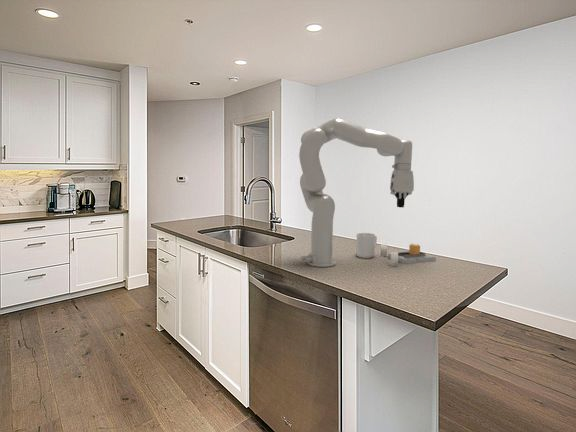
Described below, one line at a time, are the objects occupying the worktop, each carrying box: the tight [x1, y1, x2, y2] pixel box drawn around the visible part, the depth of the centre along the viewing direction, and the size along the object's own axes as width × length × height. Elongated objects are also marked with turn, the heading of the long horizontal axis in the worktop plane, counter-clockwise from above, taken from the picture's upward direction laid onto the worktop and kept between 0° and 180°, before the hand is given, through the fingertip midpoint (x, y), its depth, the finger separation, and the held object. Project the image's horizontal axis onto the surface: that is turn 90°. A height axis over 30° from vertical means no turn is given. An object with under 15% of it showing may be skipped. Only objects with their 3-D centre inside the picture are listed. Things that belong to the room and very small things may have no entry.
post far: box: [380, 243, 388, 258], centre depth 182 cm, size 3×3×6 cm
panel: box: [387, 251, 437, 265], centre depth 175 cm, size 18×12×3 cm, turn 108°
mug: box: [355, 232, 378, 259], centre depth 181 cm, size 12×9×11 cm
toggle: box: [408, 242, 421, 255], centre depth 175 cm, size 3×4×5 cm
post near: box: [390, 251, 399, 268], centre depth 163 cm, size 3×3×6 cm
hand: (400, 207), depth 172 cm, fingers closed
